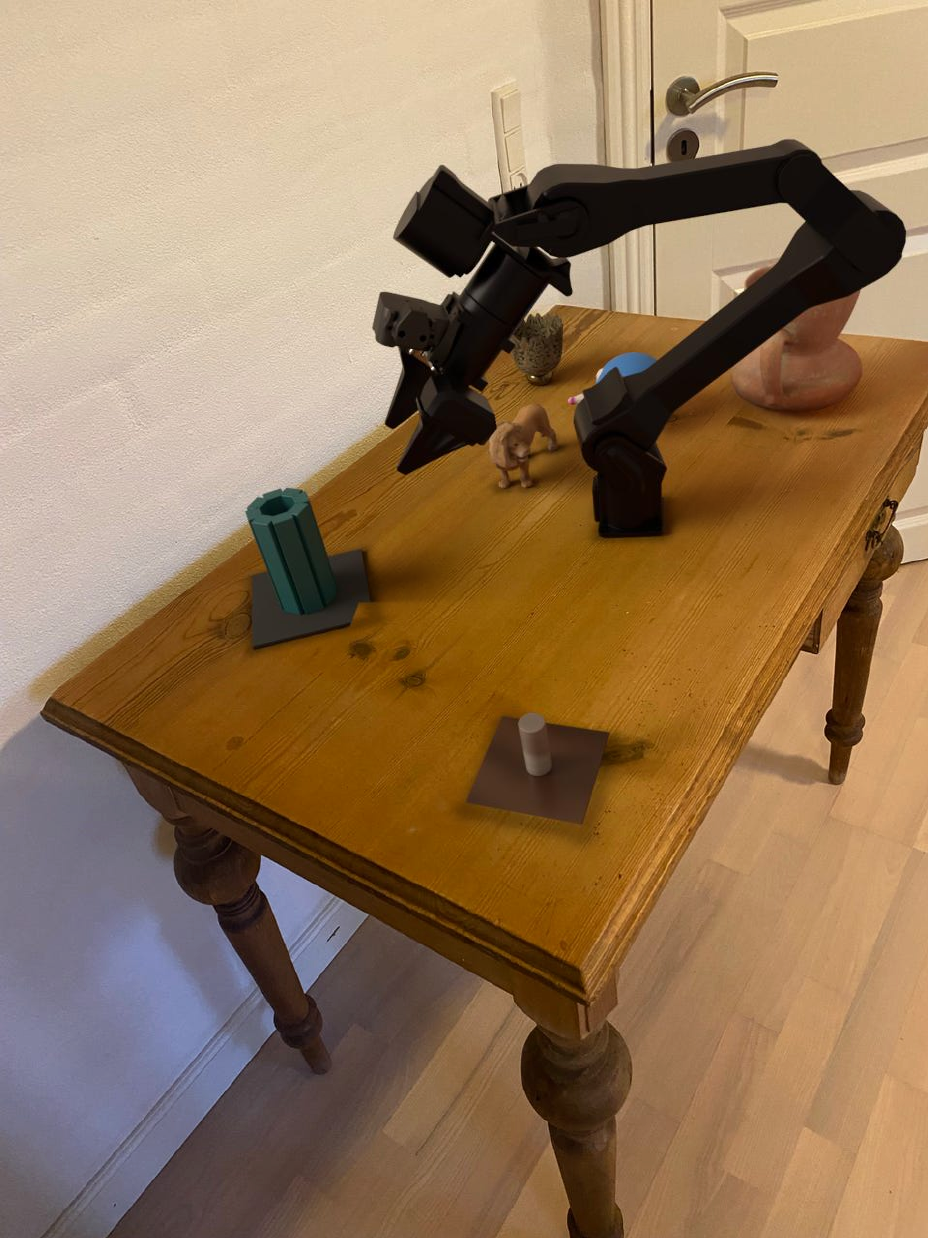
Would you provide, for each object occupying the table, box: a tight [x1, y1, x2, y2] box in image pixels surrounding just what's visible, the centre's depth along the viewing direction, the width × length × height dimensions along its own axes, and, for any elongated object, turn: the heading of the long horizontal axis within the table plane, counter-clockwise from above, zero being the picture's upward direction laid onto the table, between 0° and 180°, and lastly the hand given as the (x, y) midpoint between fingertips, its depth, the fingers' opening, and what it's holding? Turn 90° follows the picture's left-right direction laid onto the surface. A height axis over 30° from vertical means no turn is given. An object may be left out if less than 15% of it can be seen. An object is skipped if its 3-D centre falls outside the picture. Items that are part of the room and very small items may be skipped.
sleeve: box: [244, 487, 338, 615], centre depth 87 cm, size 6×6×11 cm
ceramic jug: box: [729, 261, 863, 413], centre depth 101 cm, size 18×14×14 cm
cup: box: [510, 312, 564, 387], centre depth 117 cm, size 8×7×8 cm
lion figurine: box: [488, 402, 559, 489], centre depth 100 cm, size 15×5×9 cm, turn 163°
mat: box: [251, 548, 372, 650], centre depth 91 cm, size 12×12×1 cm
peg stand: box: [465, 712, 610, 826], centre depth 67 cm, size 9×9×6 cm
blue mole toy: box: [567, 351, 658, 406], centre depth 105 cm, size 12×12×8 cm
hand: (394, 448), depth 84 cm, fingers open, 9 cm apart
